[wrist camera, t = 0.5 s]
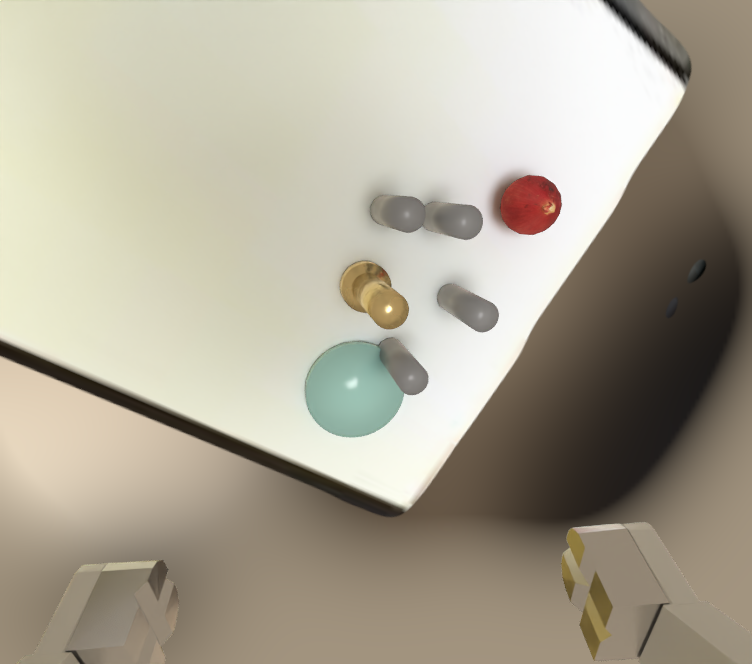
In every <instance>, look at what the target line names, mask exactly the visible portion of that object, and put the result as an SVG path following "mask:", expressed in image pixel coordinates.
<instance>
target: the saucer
mask: <svg viewBox="0 0 752 664" xmlns="http://www.w3.org/2000/svg"><path fill="white" fill-rule="evenodd" d="M380 350H381V349H380V348H379V346H377V345H374V344H371V343H368V342H361V341H353V342H346V343H342V344H339V345H337V346H335V347H333V348H331V349H329V350H328V351H326V352H325V353H323V354H322V355H321V356H320V357H319V358H318V359H317V360H316V362H315V363H314V364H313V366H312V367H311V369H310V371H309V374H308V377H307V380H306V385H305V395H306V401H307V405H308V409H309V411H310V414H311V415H312V417H313V419H314V420H315V421H316V422H317V423H318V424H319V425H320V426H321V427H322V428H323V429H325V430H326V431H328V432H330V433H332V434H335V435H338V436H342V437H361V436H365V435H369V434H371V433H374V432H376V431H377V430H379V429H381V428H382V427H384V426H385V425H386V424H387V423H388V422H390V420H391V419H392V418H393V417H394V416H395V414H396V413H397V411H398V410H399V408H400V406H401V403H402V400H403V396H404V393H403V392H402V391H401V390H400V388H399V387H398V385H397V384H396V382H395V381H394V379H393V378H392V376H391V375H390V373H389V372H388V371H387V369H386V368H385V366H384V365H383V363H382V362H381V360H380Z"/></svg>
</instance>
